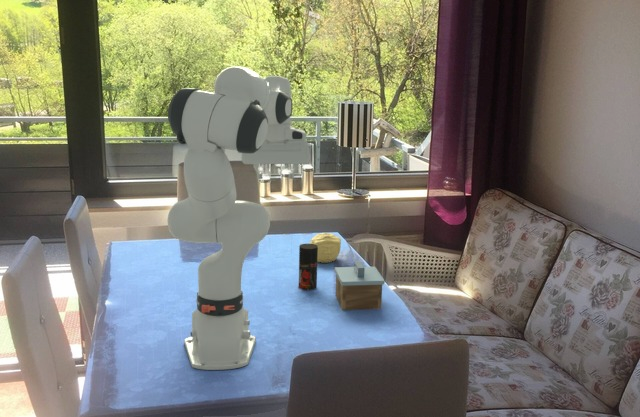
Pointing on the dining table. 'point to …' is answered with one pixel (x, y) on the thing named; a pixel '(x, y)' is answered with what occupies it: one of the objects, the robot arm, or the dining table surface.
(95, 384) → the dining table surface
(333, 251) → the sculpture
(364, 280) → the lid
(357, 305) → the box
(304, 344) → the dining table surface
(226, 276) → the robot arm
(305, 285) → the deodorant
